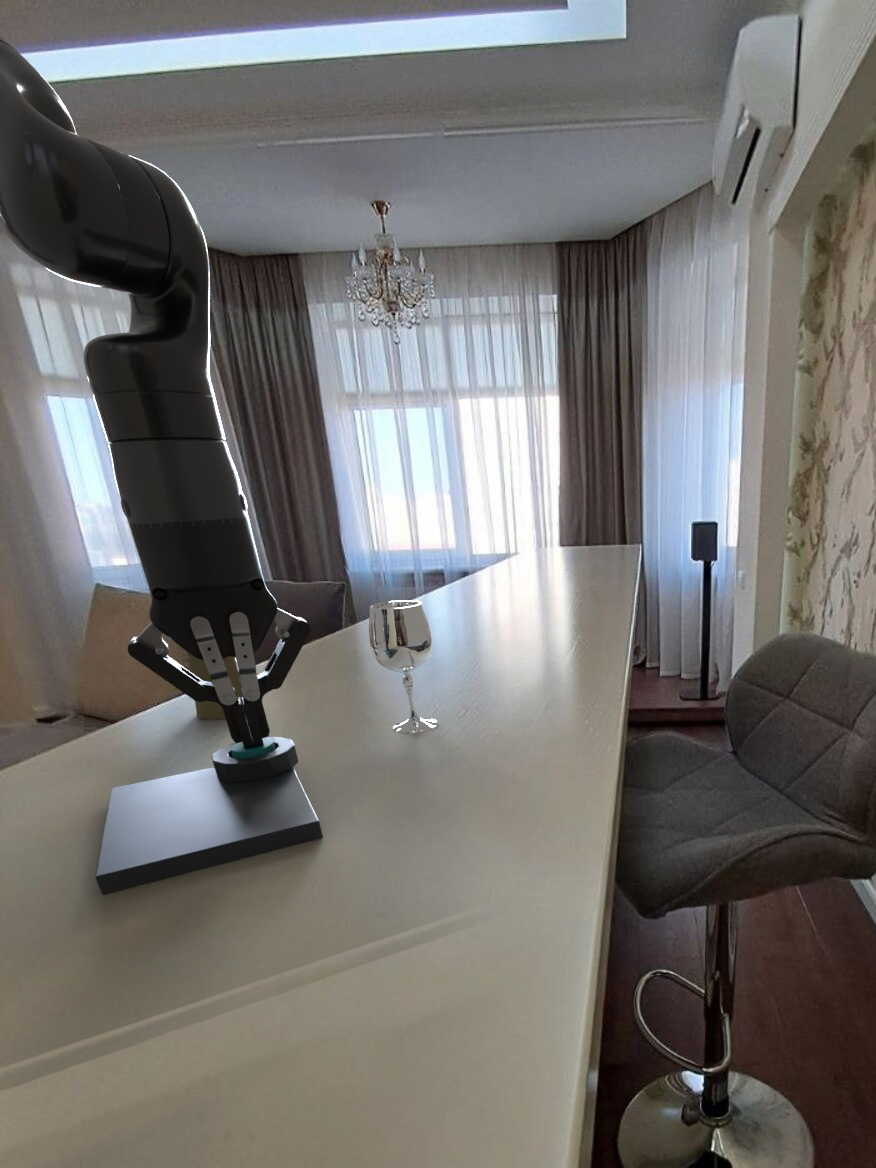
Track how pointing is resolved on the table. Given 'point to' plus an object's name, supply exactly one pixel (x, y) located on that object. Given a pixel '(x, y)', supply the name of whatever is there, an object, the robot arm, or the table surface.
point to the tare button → (252, 749)
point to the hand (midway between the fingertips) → (252, 744)
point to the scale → (204, 818)
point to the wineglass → (402, 649)
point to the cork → (200, 670)
